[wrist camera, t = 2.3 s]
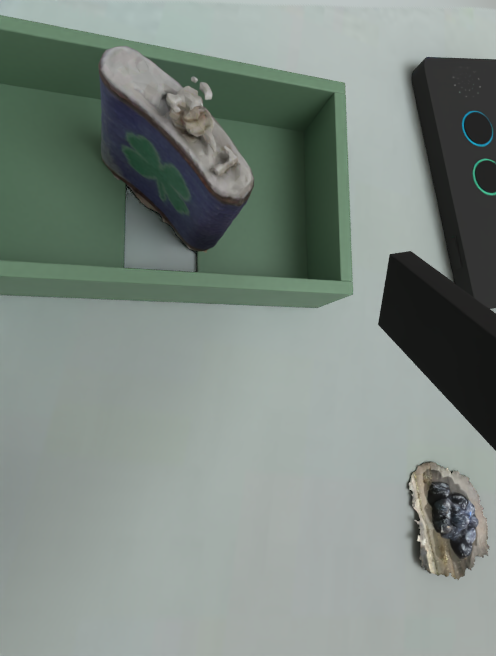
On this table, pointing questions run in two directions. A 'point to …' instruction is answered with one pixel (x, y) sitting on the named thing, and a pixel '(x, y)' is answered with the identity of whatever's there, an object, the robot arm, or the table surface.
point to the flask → (170, 148)
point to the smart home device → (463, 163)
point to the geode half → (448, 520)
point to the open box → (109, 193)
